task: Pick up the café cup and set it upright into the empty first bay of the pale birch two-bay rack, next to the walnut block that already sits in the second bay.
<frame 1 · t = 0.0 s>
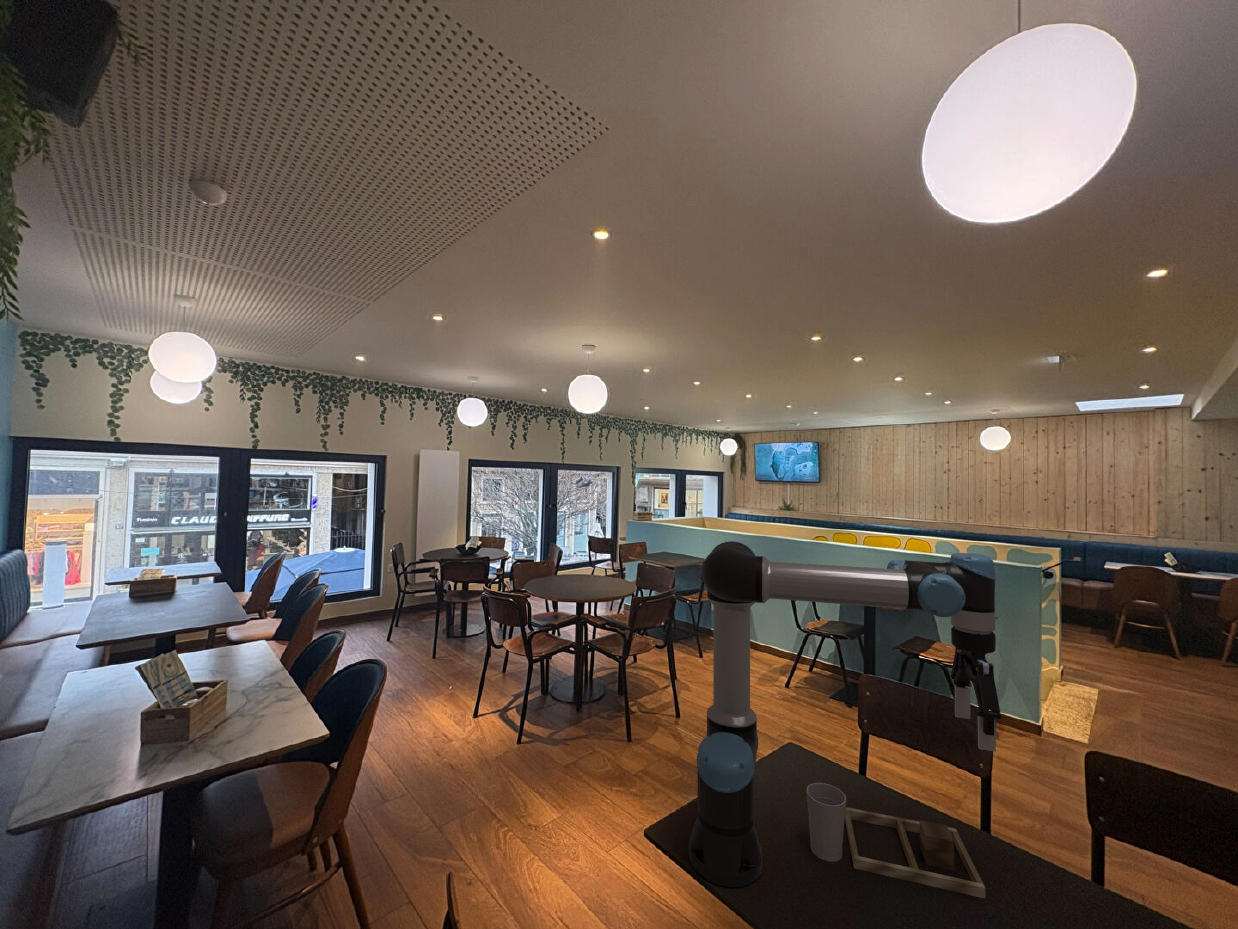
hand: (974, 732, 103), 28 cm above the table, fingers open, 13 cm apart
walnut block: (936, 859, 105), resting in rack
cup: (826, 851, 107), on the table
rack: (907, 852, 107), on the table
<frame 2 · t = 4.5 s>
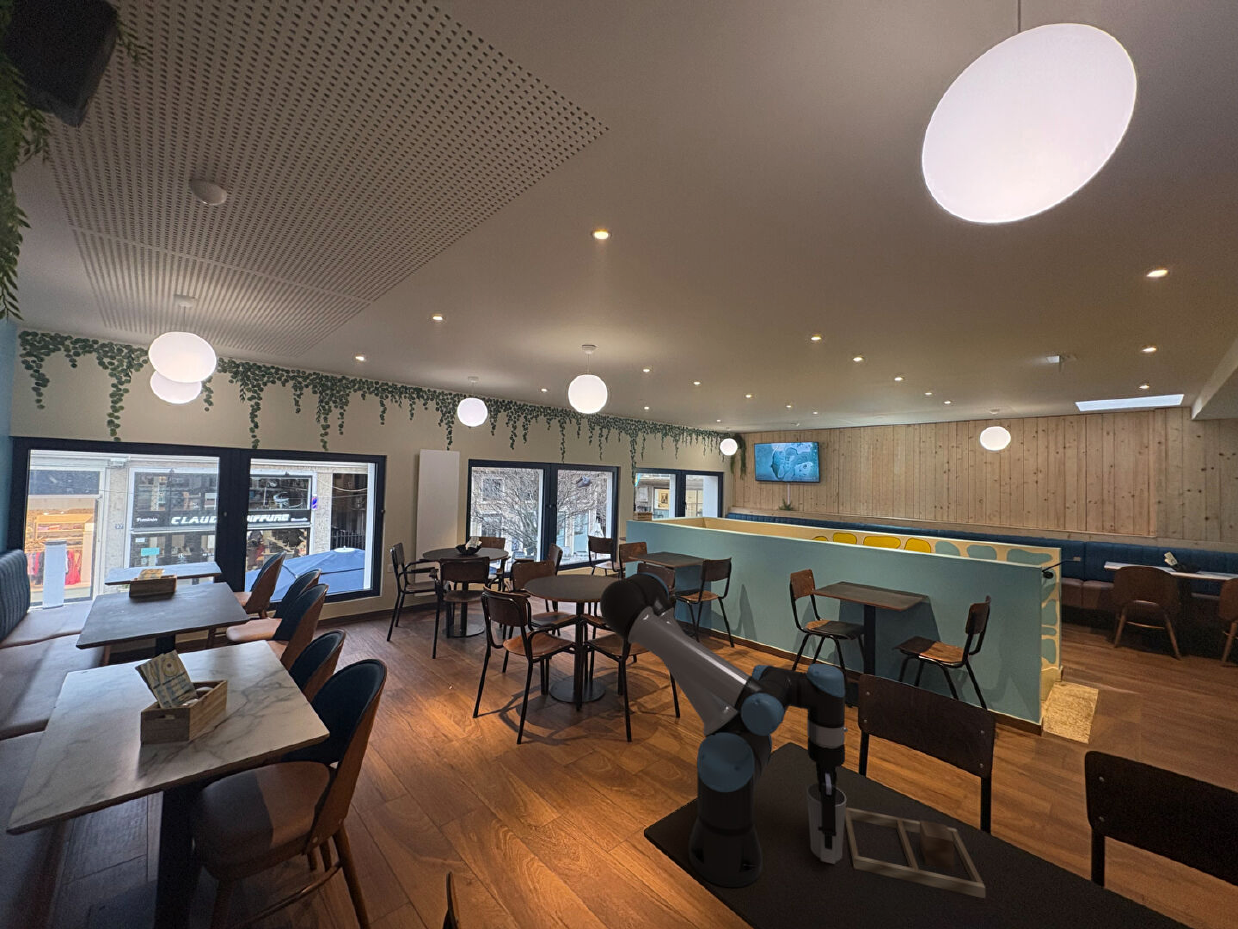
hand: (826, 847, 107), 1 cm above the table, fingers closed on cup, 7 cm apart
cup: (826, 851, 107), on the table, touching gripper
everything else where it was.
when the fingers open (3 cm above the table, at t = 10.2 s): cup drops 2 cm, resting in rack.
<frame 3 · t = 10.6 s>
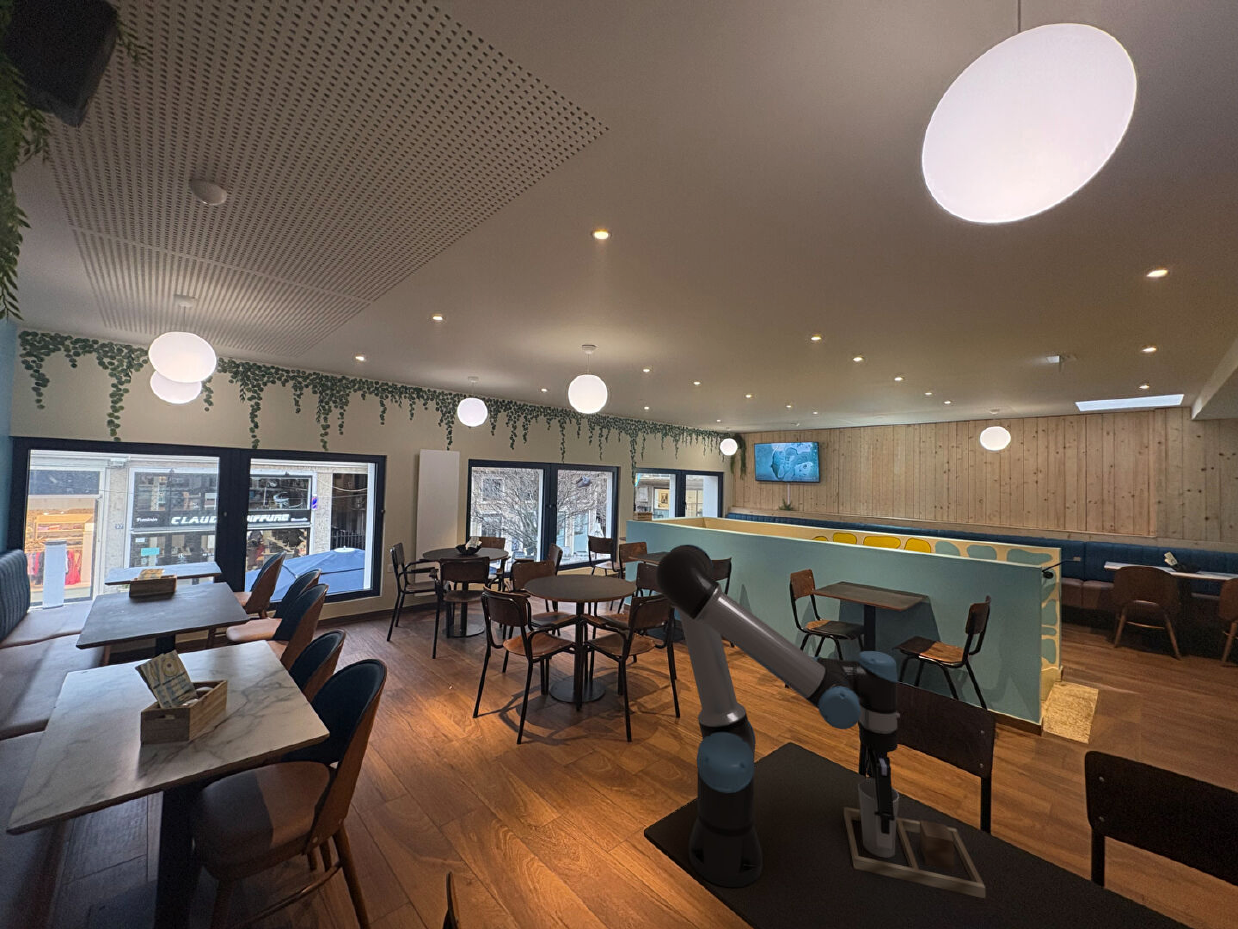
hand: (878, 825, 109), 4 cm above the table, fingers open, 12 cm apart
cup: (878, 847, 109), resting in rack
everything else where it was.
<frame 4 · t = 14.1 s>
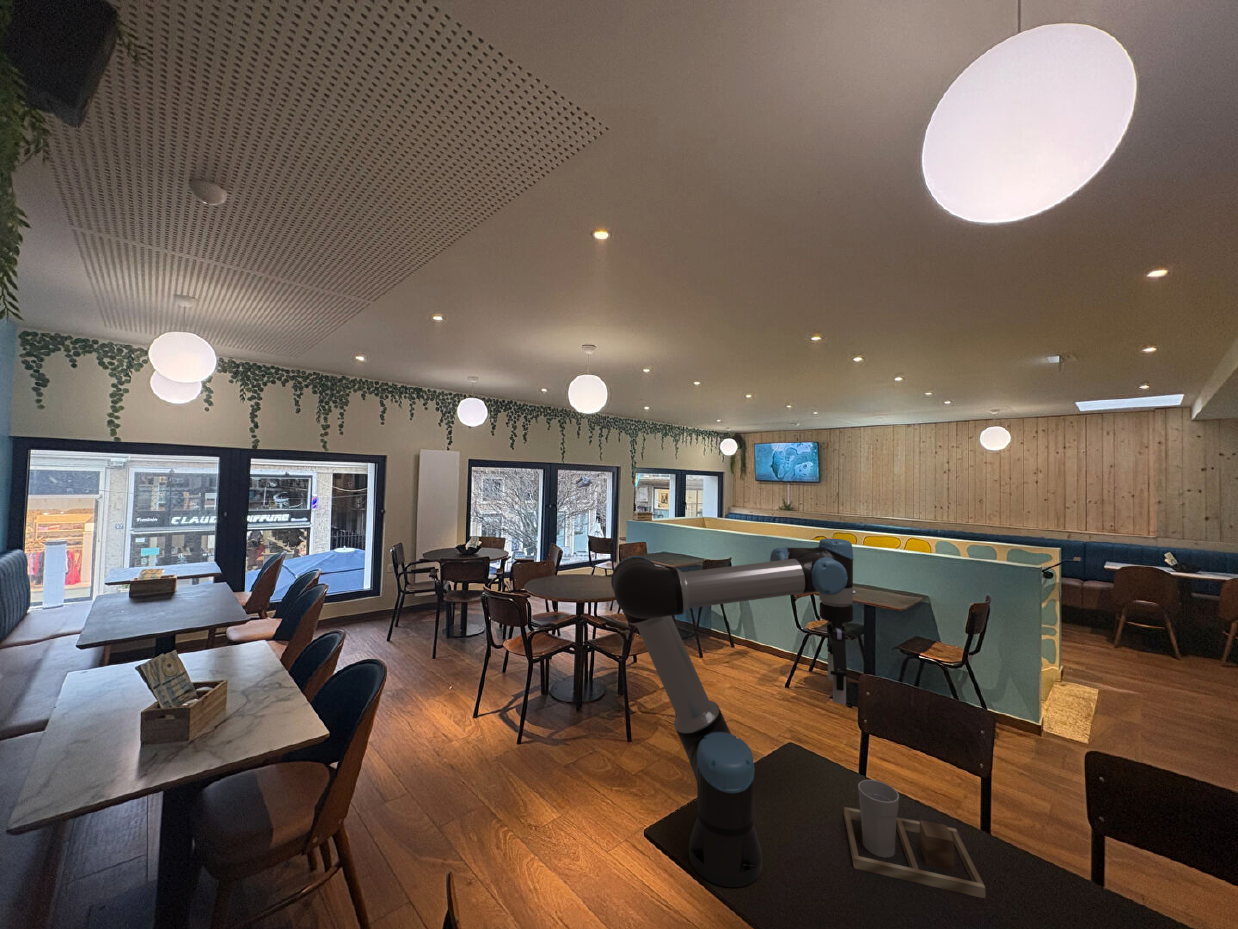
hand: (836, 691, 121), 29 cm above the table, fingers open, 13 cm apart
nothing on the table moved.
at the end: cup inside the target area on the rack (0.0 cm from its centre), point 0.0 cm above the rack's base; cup tilted 0°; walnut block moved 0.1 cm from its start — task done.
